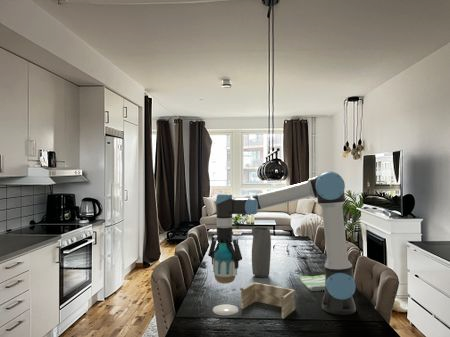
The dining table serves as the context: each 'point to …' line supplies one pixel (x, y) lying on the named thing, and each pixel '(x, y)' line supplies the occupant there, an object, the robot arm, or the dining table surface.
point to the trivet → (225, 310)
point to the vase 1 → (223, 265)
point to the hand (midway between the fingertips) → (224, 273)
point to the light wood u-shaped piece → (269, 296)
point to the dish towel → (314, 282)
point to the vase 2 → (261, 251)
